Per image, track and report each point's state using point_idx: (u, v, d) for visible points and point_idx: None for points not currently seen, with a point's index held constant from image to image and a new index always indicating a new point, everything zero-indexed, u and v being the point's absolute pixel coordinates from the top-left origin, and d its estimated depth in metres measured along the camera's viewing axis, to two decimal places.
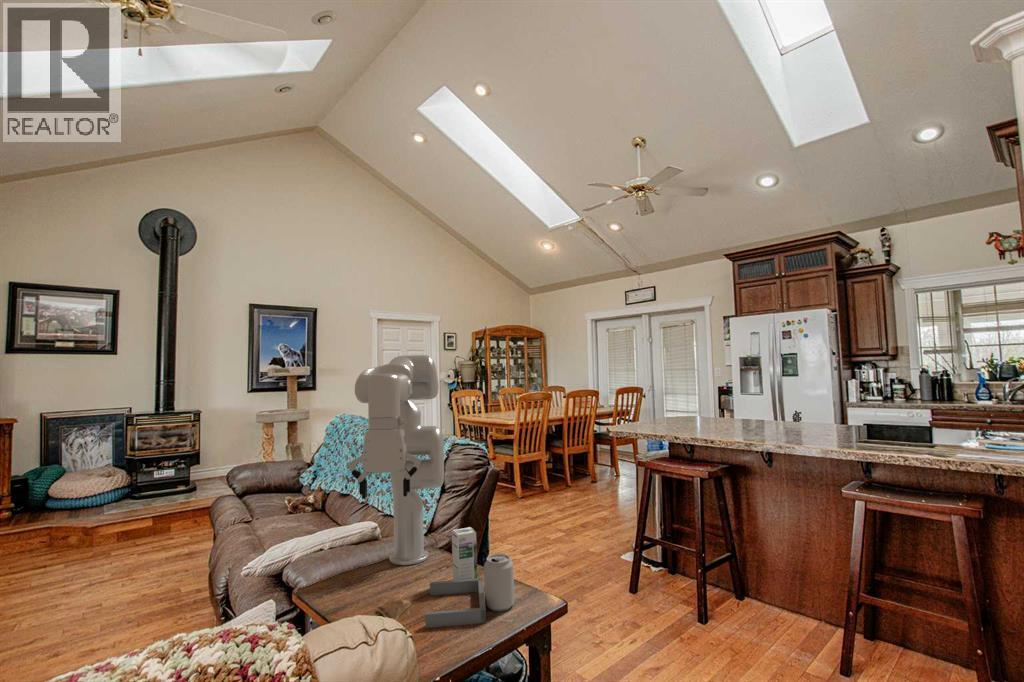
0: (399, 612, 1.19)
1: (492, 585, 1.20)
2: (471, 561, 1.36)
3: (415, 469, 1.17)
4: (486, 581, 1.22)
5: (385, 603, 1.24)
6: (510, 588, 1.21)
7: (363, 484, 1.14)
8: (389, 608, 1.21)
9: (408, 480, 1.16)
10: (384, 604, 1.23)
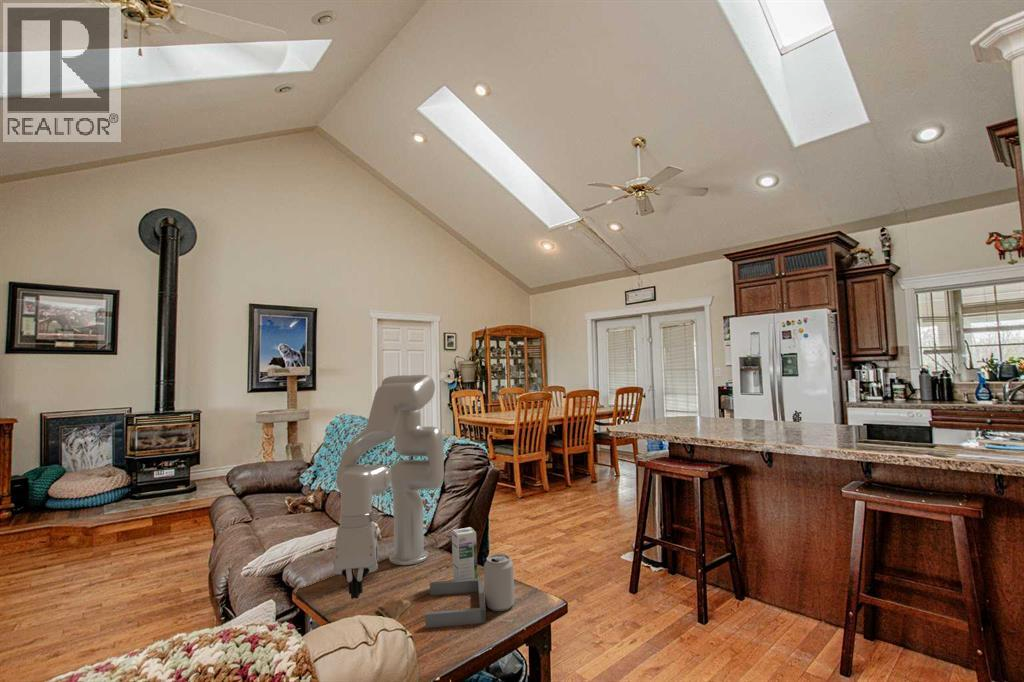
0: (399, 612, 1.19)
1: (492, 585, 1.20)
2: (471, 561, 1.36)
3: (367, 571, 1.20)
4: (486, 581, 1.22)
5: (385, 603, 1.24)
6: (510, 588, 1.21)
7: (352, 584, 1.19)
8: (389, 608, 1.21)
9: (360, 581, 1.20)
10: (384, 604, 1.23)
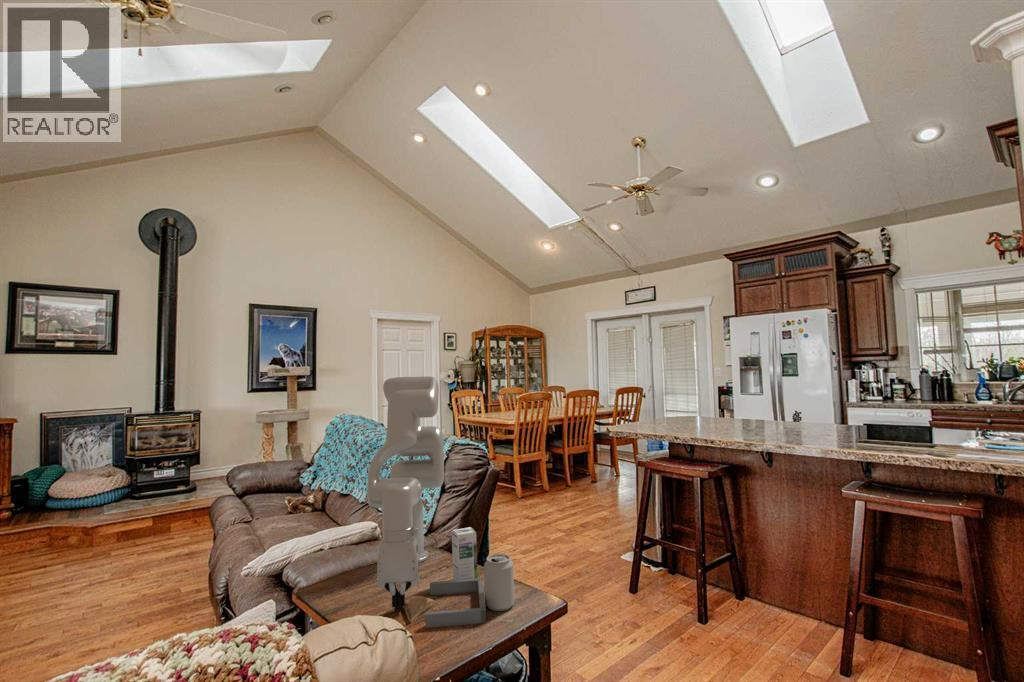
0: (420, 610, 1.20)
1: (492, 585, 1.20)
2: (471, 561, 1.36)
3: (409, 584, 1.21)
4: (486, 581, 1.22)
5: (410, 599, 1.25)
6: (510, 588, 1.21)
7: (395, 598, 1.20)
8: (412, 605, 1.22)
9: (403, 595, 1.21)
10: (409, 600, 1.25)
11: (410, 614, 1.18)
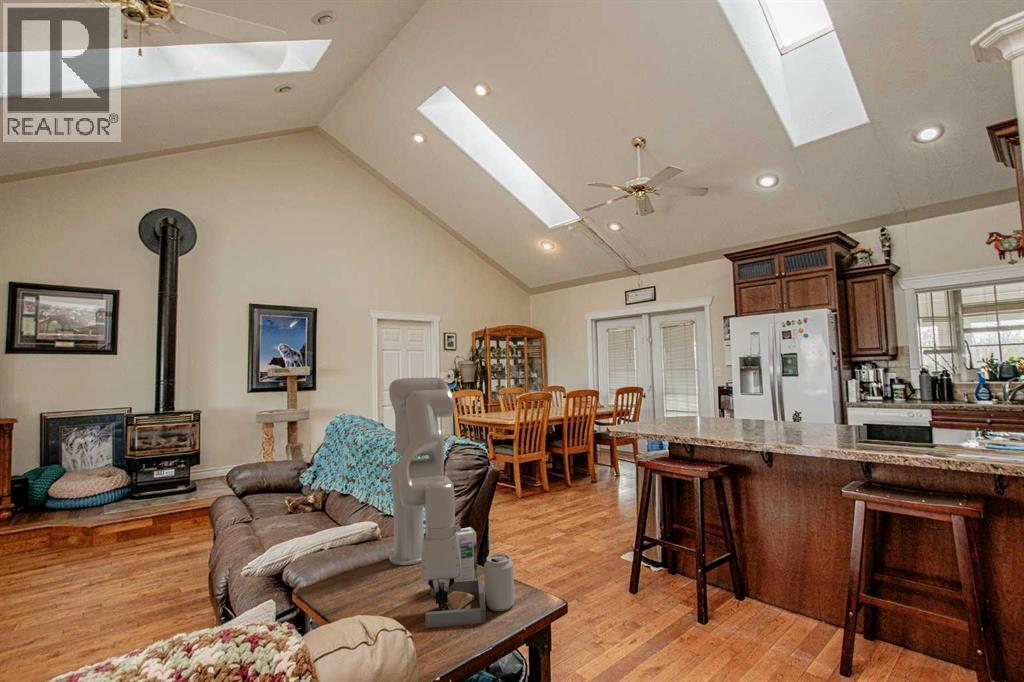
0: (461, 605, 1.22)
1: (492, 585, 1.20)
2: (471, 561, 1.36)
3: (453, 581, 1.23)
4: (486, 581, 1.22)
5: (451, 594, 1.28)
6: (510, 588, 1.21)
7: (439, 594, 1.21)
8: (454, 599, 1.25)
9: (446, 591, 1.22)
10: (450, 595, 1.28)
11: (452, 608, 1.20)
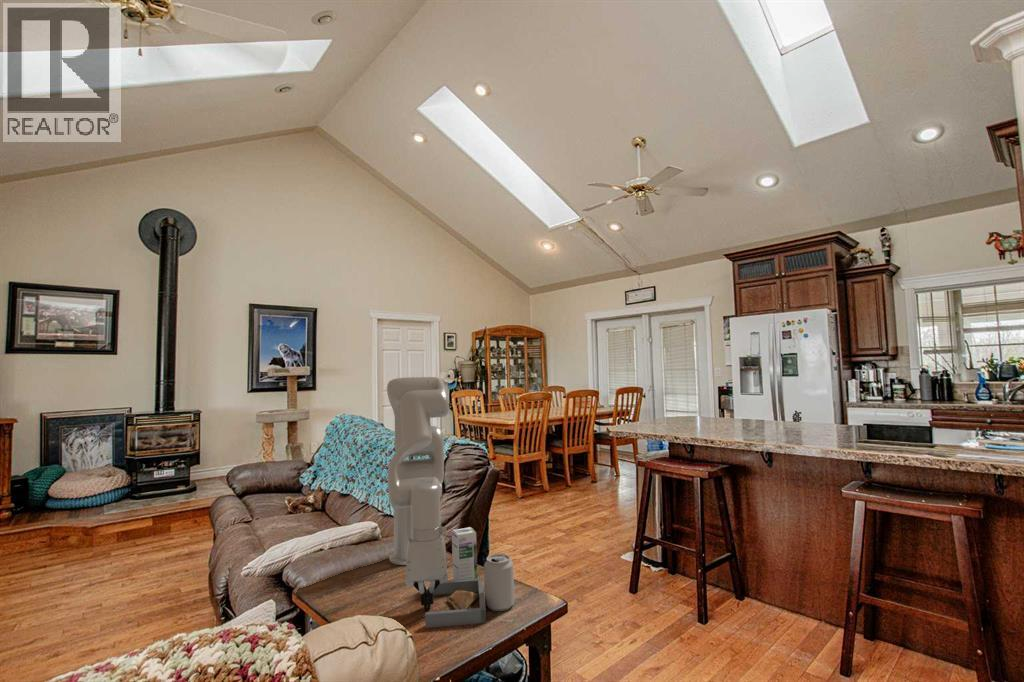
0: (468, 603, 1.23)
1: (492, 585, 1.20)
2: (471, 561, 1.36)
3: (438, 582, 1.22)
4: (486, 581, 1.22)
5: (454, 594, 1.28)
6: (510, 588, 1.21)
7: (425, 596, 1.21)
8: (458, 599, 1.25)
9: (432, 593, 1.22)
10: (453, 595, 1.28)
11: (460, 607, 1.21)
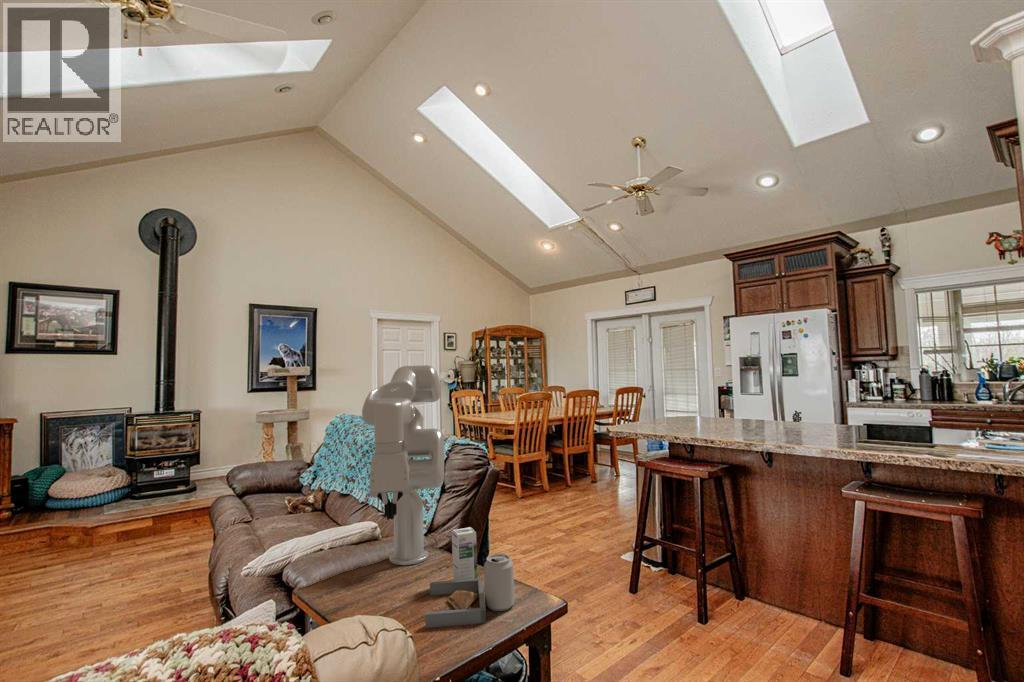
0: (468, 603, 1.23)
1: (492, 585, 1.20)
2: (471, 561, 1.36)
3: (401, 494, 1.27)
4: (486, 581, 1.22)
5: (454, 594, 1.28)
6: (510, 588, 1.21)
7: (388, 506, 1.26)
8: (458, 599, 1.25)
9: (395, 504, 1.27)
10: (453, 595, 1.28)
11: (460, 608, 1.21)
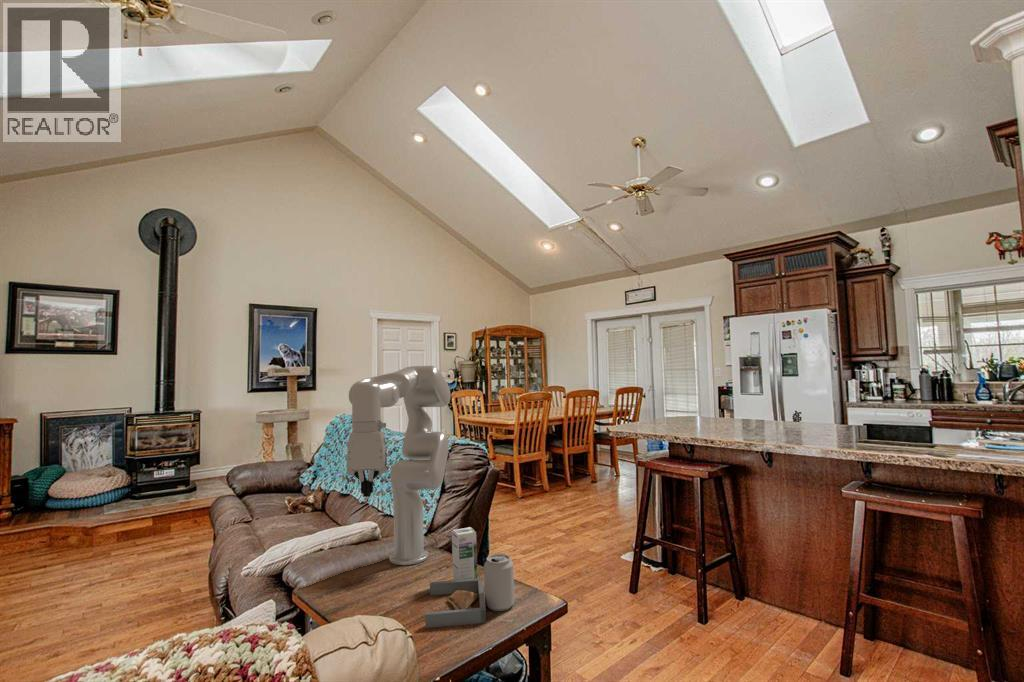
0: (468, 603, 1.23)
1: (492, 585, 1.20)
2: (471, 561, 1.36)
3: (377, 472, 1.31)
4: (486, 581, 1.22)
5: (454, 594, 1.28)
6: (510, 588, 1.21)
7: (364, 484, 1.30)
8: (459, 599, 1.25)
9: (371, 482, 1.31)
10: (453, 595, 1.28)
11: (460, 607, 1.21)
